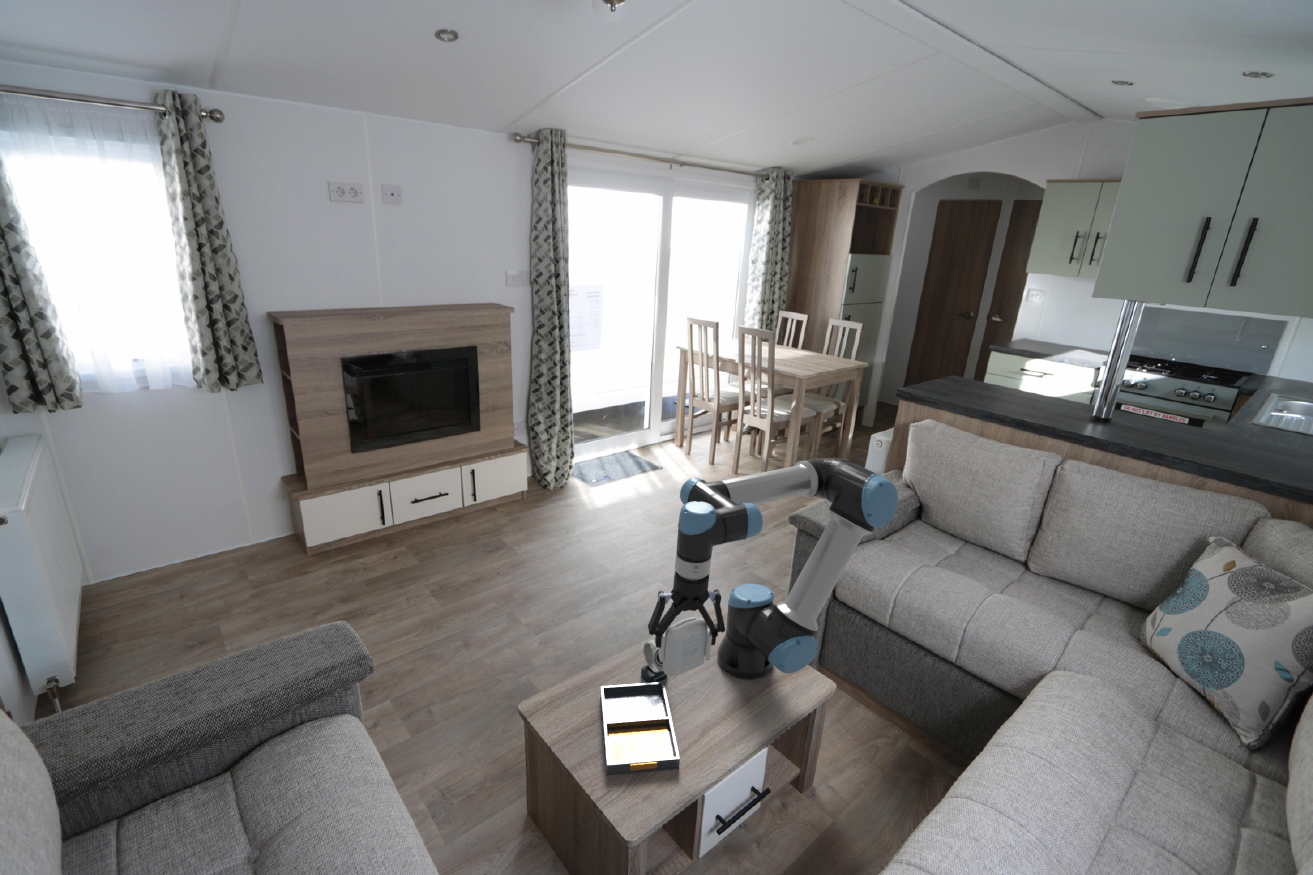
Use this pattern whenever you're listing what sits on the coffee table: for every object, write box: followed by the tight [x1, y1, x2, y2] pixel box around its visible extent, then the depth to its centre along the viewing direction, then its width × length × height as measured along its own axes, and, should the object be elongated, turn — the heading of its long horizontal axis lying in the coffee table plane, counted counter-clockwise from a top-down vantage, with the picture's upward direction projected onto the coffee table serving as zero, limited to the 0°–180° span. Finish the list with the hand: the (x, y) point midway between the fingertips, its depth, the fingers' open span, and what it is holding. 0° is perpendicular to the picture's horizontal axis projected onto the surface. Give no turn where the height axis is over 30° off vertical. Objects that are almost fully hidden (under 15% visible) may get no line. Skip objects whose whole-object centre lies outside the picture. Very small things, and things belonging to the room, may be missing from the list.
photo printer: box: [663, 616, 709, 677], centre depth 138 cm, size 10×4×12 cm, turn 123°
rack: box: [600, 681, 681, 776], centre depth 146 cm, size 16×24×3 cm
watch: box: [640, 638, 668, 683], centre depth 162 cm, size 6×8×11 cm
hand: (683, 656), depth 139 cm, fingers closed on photo printer, 10 cm apart
